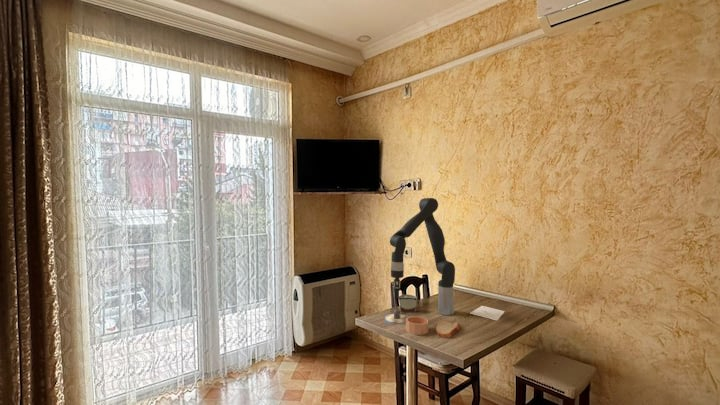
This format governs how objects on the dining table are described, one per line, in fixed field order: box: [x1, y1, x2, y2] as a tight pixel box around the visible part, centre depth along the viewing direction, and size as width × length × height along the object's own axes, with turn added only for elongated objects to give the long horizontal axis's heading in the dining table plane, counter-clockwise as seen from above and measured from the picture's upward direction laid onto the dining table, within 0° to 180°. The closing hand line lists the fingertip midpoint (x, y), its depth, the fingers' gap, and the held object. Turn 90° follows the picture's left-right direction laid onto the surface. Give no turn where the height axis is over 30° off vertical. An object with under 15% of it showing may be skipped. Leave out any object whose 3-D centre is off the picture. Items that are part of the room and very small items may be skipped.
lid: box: [384, 309, 408, 325], centre depth 196 cm, size 14×14×5 cm
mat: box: [383, 313, 410, 325], centre depth 196 cm, size 15×15×1 cm
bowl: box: [405, 315, 429, 337], centre depth 179 cm, size 12×12×6 cm
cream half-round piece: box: [397, 294, 419, 313], centre depth 212 cm, size 12×6×10 cm, turn 84°
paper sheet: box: [469, 305, 506, 321], centre depth 205 cm, size 24×29×1 cm
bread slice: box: [435, 320, 461, 339], centre depth 180 cm, size 18×18×4 cm
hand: (396, 295), depth 195 cm, fingers open, 8 cm apart
